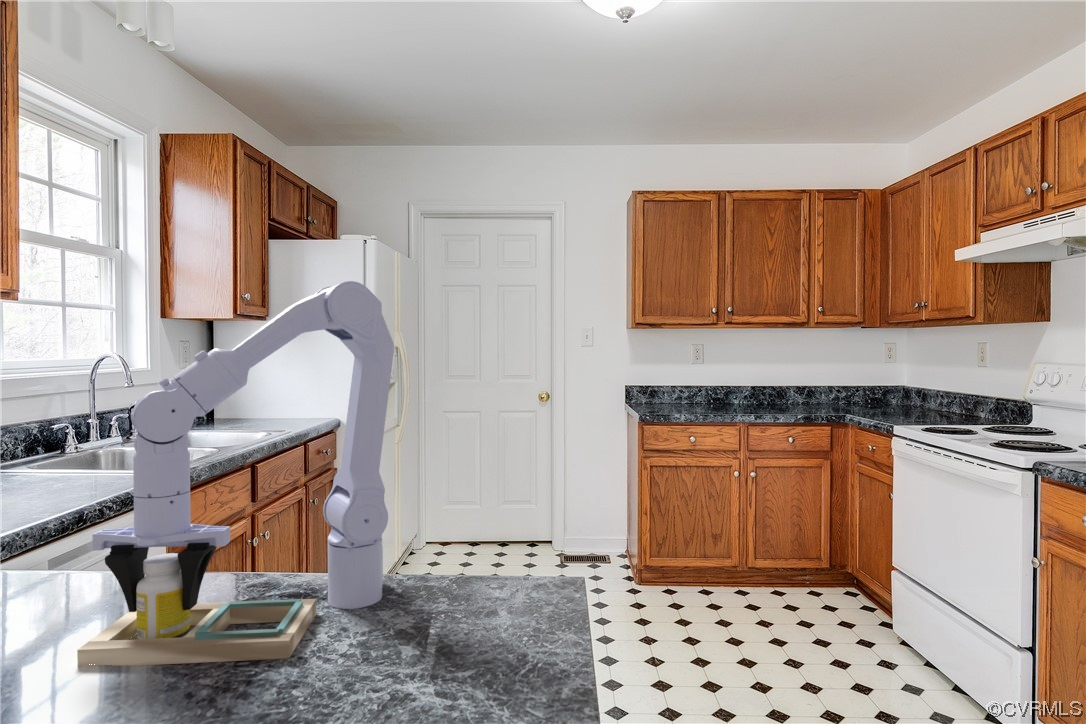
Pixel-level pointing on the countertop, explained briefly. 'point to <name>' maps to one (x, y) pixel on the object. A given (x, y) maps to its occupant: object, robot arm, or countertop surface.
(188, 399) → the robot arm
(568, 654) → the countertop surface
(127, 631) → the panel
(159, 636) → the supplement bottle
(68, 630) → the countertop surface
